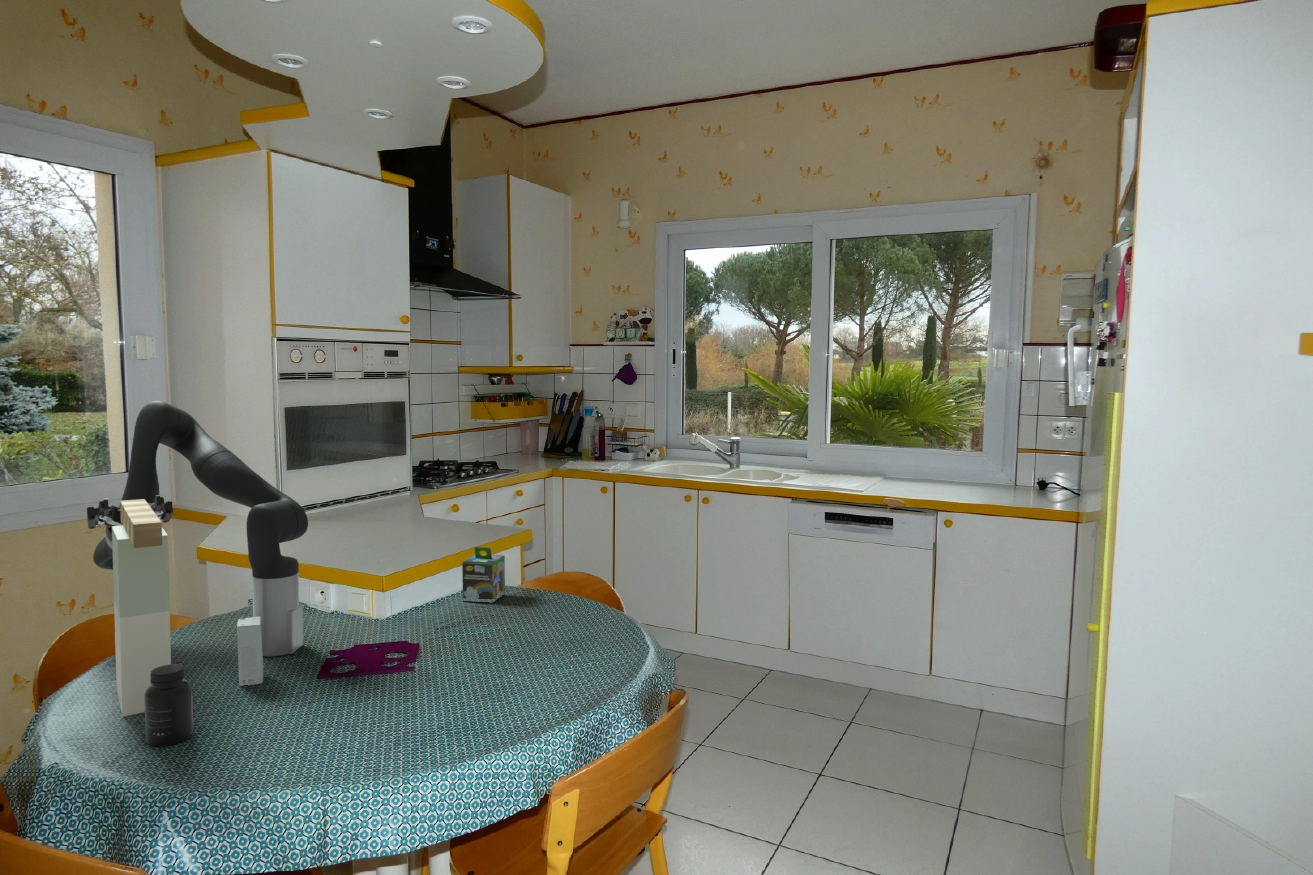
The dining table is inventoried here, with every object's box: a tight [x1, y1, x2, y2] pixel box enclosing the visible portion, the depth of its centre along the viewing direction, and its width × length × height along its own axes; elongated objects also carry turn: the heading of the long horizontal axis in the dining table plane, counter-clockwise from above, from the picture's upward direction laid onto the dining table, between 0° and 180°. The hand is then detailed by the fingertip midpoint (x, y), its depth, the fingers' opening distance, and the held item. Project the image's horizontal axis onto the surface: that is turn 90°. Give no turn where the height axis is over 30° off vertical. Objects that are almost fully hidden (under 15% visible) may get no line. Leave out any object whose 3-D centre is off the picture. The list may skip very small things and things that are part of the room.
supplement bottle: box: [144, 663, 194, 747], centre depth 130 cm, size 7×7×12 cm
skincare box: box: [236, 616, 264, 687], centre depth 155 cm, size 6×4×12 cm
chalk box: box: [461, 546, 506, 599], centre depth 215 cm, size 9×9×15 cm
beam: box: [119, 499, 163, 548], centre depth 141 cm, size 28×4×4 cm, turn 38°
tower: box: [112, 525, 172, 717], centre depth 144 cm, size 14×8×32 cm, turn 38°
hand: (132, 501), depth 151 cm, fingers open, 8 cm apart
